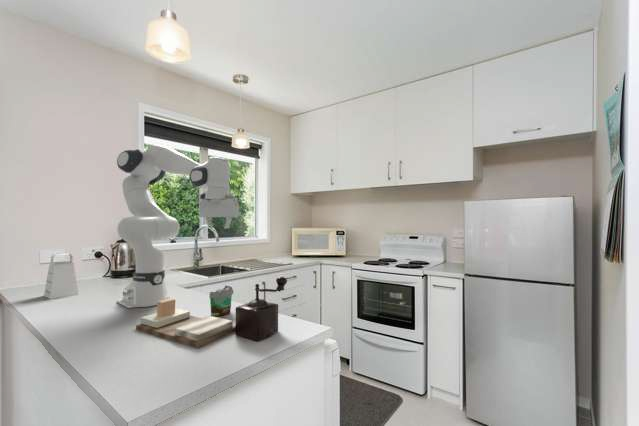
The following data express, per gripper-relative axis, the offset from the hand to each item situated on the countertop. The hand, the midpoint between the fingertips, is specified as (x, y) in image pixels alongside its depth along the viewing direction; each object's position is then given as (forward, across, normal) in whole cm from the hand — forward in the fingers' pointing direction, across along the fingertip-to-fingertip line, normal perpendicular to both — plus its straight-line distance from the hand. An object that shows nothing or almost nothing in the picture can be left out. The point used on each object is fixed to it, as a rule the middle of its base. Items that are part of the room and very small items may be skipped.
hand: (218, 228), depth 127 cm
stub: (+32, +2, +22) cm, 39 cm away
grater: (+34, +84, +21) cm, 93 cm away
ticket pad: (+34, -8, +22) cm, 41 cm away
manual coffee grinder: (+34, -32, +10) cm, 48 cm away
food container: (+34, -7, +3) cm, 35 cm away
